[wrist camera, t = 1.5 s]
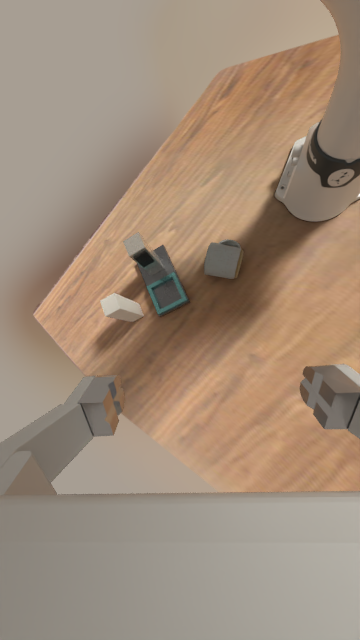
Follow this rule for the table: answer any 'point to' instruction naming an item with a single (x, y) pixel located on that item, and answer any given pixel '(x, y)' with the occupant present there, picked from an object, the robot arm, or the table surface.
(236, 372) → the table surface
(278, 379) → the table surface
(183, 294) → the tray with white post
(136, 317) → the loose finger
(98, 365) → the table surface
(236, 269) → the ceramic mug
